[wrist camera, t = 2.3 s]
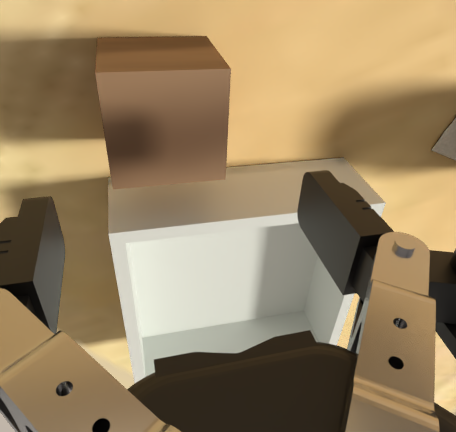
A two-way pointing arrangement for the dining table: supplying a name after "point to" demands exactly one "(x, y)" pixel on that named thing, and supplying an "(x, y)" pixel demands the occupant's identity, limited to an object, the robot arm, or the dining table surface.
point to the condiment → (447, 142)
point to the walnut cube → (163, 109)
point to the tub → (223, 262)
